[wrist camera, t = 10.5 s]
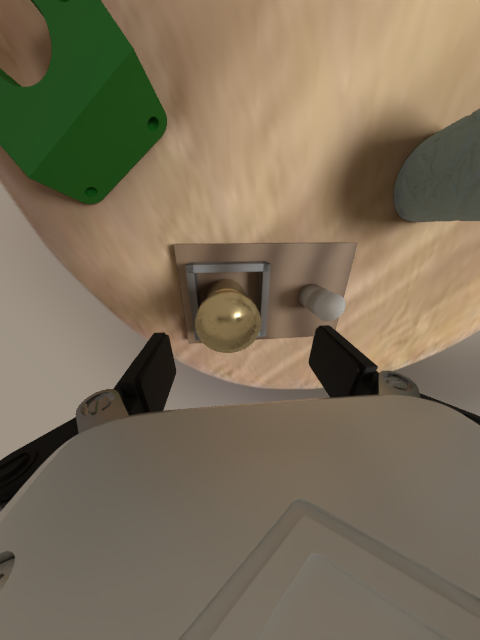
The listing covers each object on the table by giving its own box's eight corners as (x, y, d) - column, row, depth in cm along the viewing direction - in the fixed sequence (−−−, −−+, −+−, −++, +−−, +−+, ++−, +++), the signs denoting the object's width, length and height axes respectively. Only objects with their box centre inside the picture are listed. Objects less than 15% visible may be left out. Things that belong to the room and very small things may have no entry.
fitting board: (349, 242, 23) (394, 243, 17) (328, 330, 28) (357, 354, 22) (176, 244, 21) (159, 245, 15) (190, 338, 26) (181, 366, 20)
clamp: (136, 114, 19) (88, -65, 10) (172, 164, 20) (157, 40, 11) (23, 159, 16) (-173, -30, 8) (71, 215, 17) (-53, 104, 8)
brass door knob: (248, 274, 21) (262, 292, 14) (248, 317, 24) (259, 350, 17) (201, 275, 21) (190, 294, 14) (206, 319, 23) (198, 354, 16)
